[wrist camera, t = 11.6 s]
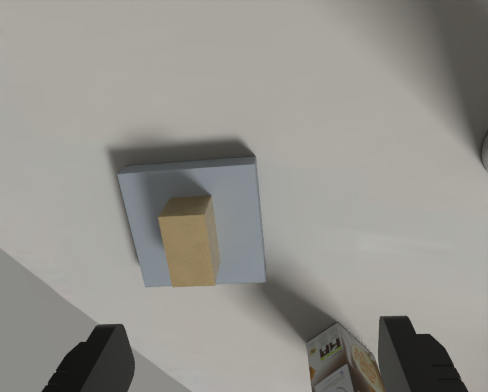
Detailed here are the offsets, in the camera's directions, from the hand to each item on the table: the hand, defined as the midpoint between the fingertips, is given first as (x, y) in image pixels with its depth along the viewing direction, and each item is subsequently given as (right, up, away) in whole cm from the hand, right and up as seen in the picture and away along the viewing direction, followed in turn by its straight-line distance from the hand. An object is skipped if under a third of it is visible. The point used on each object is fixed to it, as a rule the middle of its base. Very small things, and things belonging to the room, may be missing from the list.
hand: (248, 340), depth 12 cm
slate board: (-6, +1, +36) cm, 37 cm away
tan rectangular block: (-6, 0, +33) cm, 34 cm away
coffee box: (+14, -18, +44) cm, 49 cm away
